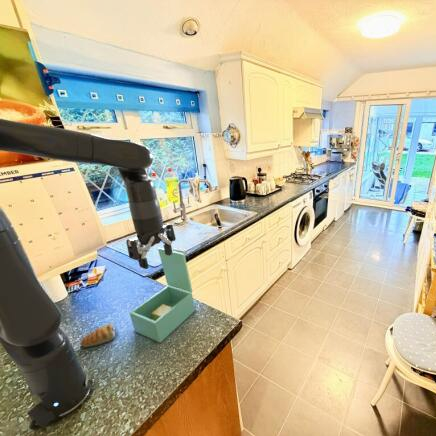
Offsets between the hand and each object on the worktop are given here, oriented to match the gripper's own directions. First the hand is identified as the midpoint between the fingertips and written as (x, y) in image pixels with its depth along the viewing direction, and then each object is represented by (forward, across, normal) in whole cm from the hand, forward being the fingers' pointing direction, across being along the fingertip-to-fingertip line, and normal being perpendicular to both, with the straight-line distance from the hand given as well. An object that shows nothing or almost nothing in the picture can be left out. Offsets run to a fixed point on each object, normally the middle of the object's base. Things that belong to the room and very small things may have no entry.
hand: (157, 261), depth 75 cm
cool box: (+30, -3, -7) cm, 31 cm away
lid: (+12, -11, -7) cm, 18 cm away
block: (+29, -2, -7) cm, 30 cm away
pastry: (+30, +12, -21) cm, 39 cm away
